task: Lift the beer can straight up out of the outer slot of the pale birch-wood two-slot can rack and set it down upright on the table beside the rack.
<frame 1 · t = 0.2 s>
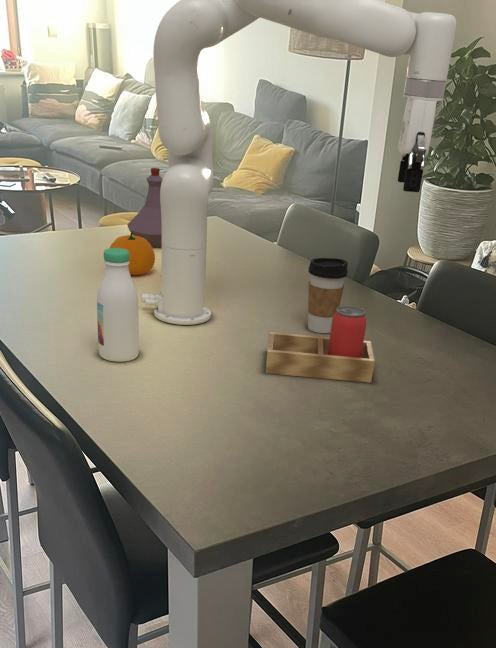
hand: (408, 186, 155), 31 cm above the table, tool pointing down, fingers open, 9 cm apart
fruit: (131, 272, 198), on the table
beer can: (342, 370, 153), resting in can rack
can rack: (317, 367, 153), on the table
coffee cup: (320, 329, 173), on the table
flask: (154, 244, 223), on the table
milk bottle: (118, 356, 151), on the table
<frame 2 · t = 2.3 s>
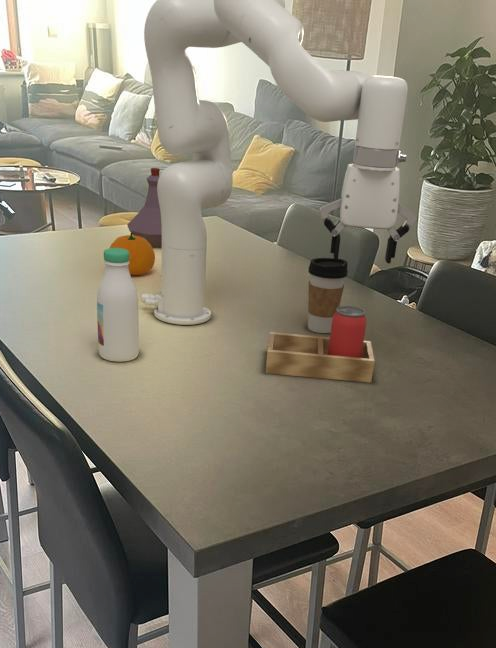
hand: (361, 259, 142), 21 cm above the table, tool pointing down, fingers open, 9 cm apart
nothing on the table moved.
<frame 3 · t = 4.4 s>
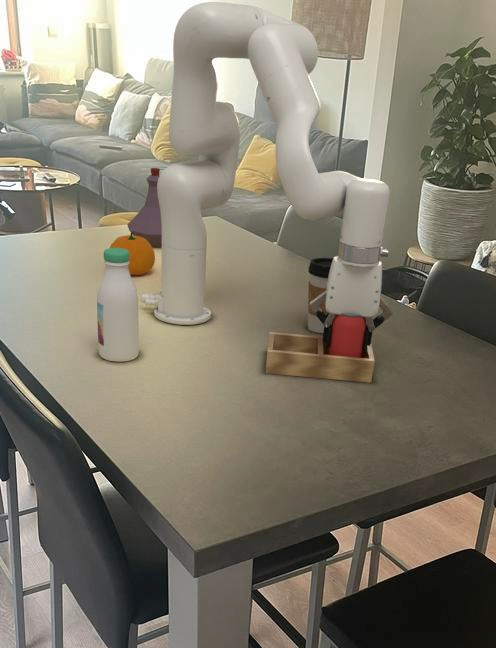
hand: (345, 346, 151), 5 cm above the table, tool pointing down, fingers closed on beer can, 6 cm apart
beer can: (342, 370, 153), resting in can rack, touching gripper
everything else where it was.
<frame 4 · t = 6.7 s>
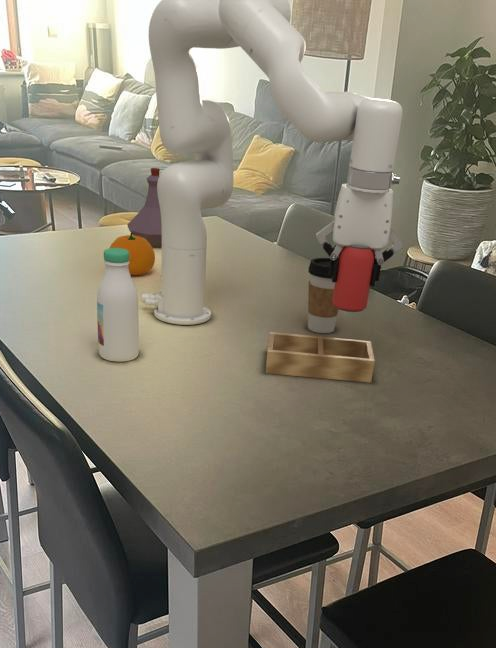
hand: (352, 281, 144), 17 cm above the table, tool pointing down, fingers closed on beer can, 6 cm apart
beer can: (348, 308, 147), point 12 cm above the table, touching gripper
everything else where it was.
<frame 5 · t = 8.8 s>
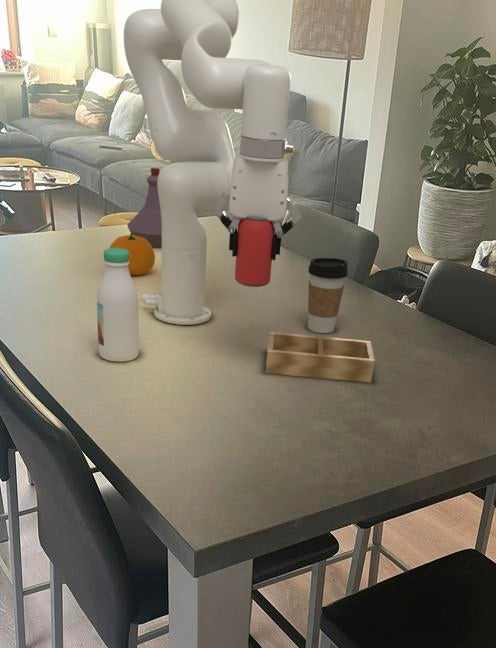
hand: (254, 255, 140), 21 cm above the table, tool pointing down, fingers closed on beer can, 6 cm apart
beer can: (252, 283, 143), point 16 cm above the table, touching gripper
everything else where it was.
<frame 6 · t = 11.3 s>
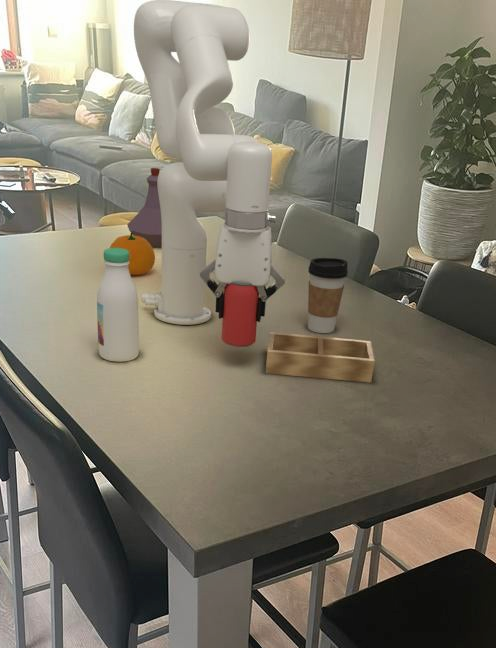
hand: (239, 317, 146), 9 cm above the table, tool pointing down, fingers closed on beer can, 6 cm apart
beer can: (238, 343, 149), point 4 cm above the table, touching gripper
everything else where it was.
when the fingers open (5 cm above the table, at t = 13.1 s): beer can stays where it is, on the table.
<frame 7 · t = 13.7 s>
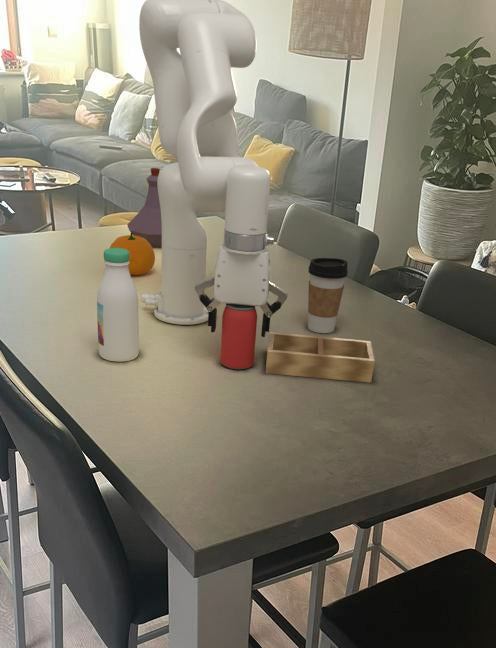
hand: (238, 332, 148), 6 cm above the table, tool pointing down, fingers open, 9 cm apart
beer can: (236, 365, 152), on the table
everything else where it was.
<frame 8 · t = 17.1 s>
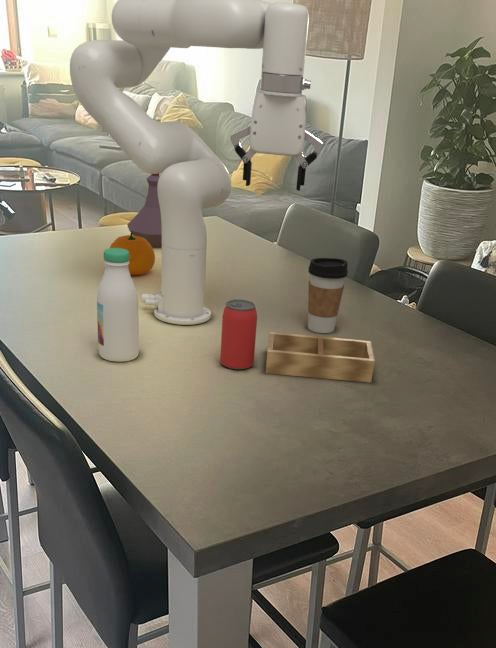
hand: (273, 187, 148), 30 cm above the table, tool pointing down, fingers open, 9 cm apart
nothing on the table moved.
at the end: beer can inside the target area (0.1 cm from its centre), on the table; beer can tilted 0°; the gripper is holding nothing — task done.
